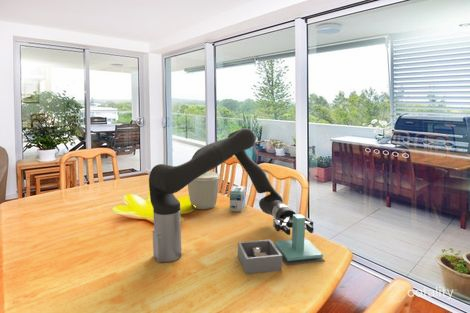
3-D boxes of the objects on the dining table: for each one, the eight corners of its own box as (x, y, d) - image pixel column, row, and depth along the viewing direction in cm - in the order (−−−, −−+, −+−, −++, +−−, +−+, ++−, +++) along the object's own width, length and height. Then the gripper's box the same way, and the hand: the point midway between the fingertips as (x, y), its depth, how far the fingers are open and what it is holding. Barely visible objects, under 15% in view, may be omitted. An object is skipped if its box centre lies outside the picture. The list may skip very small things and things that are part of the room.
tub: (281, 272, 100) (282, 255, 99) (246, 276, 98) (246, 259, 97) (269, 254, 112) (270, 239, 111) (237, 258, 109) (237, 242, 108)
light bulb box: (242, 212, 155) (242, 191, 154) (229, 211, 157) (229, 190, 155) (245, 205, 166) (246, 185, 164) (233, 204, 167) (233, 185, 165)
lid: (322, 259, 107) (324, 221, 104) (287, 263, 104) (288, 224, 101) (306, 243, 119) (308, 208, 117) (274, 246, 116) (275, 211, 114)
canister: (226, 208, 160) (226, 169, 157) (195, 214, 151) (194, 173, 147) (210, 199, 176) (210, 163, 172) (181, 204, 166) (180, 166, 162)
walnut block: (268, 269, 100) (269, 258, 100) (257, 270, 100) (257, 259, 99) (265, 263, 104) (265, 252, 104) (253, 264, 103) (253, 253, 103)
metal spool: (255, 261, 105) (255, 250, 105) (250, 258, 108) (250, 247, 107) (262, 259, 107) (262, 248, 106) (257, 255, 109) (257, 245, 109)
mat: (324, 263, 106) (324, 260, 106) (286, 267, 103) (286, 264, 103) (306, 245, 120) (307, 242, 120) (272, 248, 117) (272, 245, 117)
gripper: (267, 207, 121) (282, 223, 106) (300, 205, 124) (320, 220, 109) (266, 225, 123) (281, 243, 107) (300, 222, 126) (318, 239, 110)
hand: (300, 231), depth 108 cm, fingers open, 8 cm apart
